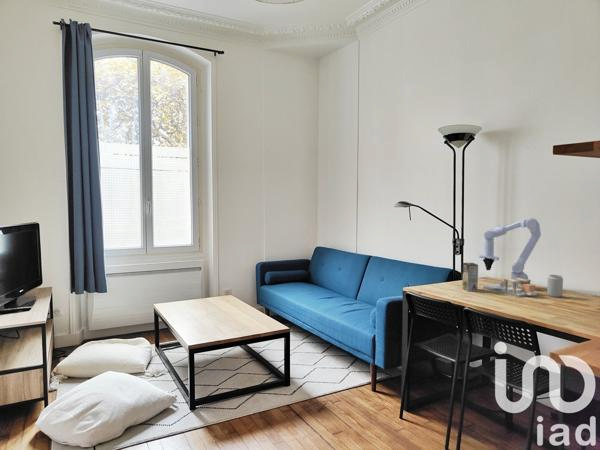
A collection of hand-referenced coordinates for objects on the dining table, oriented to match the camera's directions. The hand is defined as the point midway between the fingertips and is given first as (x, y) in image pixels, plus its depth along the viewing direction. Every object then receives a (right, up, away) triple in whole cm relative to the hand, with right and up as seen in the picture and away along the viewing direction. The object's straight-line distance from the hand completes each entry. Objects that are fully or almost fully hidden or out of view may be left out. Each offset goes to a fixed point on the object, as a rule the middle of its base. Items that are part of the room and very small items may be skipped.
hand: (488, 270), depth 275 cm
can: (+22, -11, -34) cm, 43 cm away
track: (+3, -11, -22) cm, 25 cm away
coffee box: (-19, -10, -17) cm, 27 cm away
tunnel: (+5, -10, -27) cm, 29 cm away
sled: (+5, -9, -28) cm, 30 cm away
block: (+7, -9, -35) cm, 37 cm away
